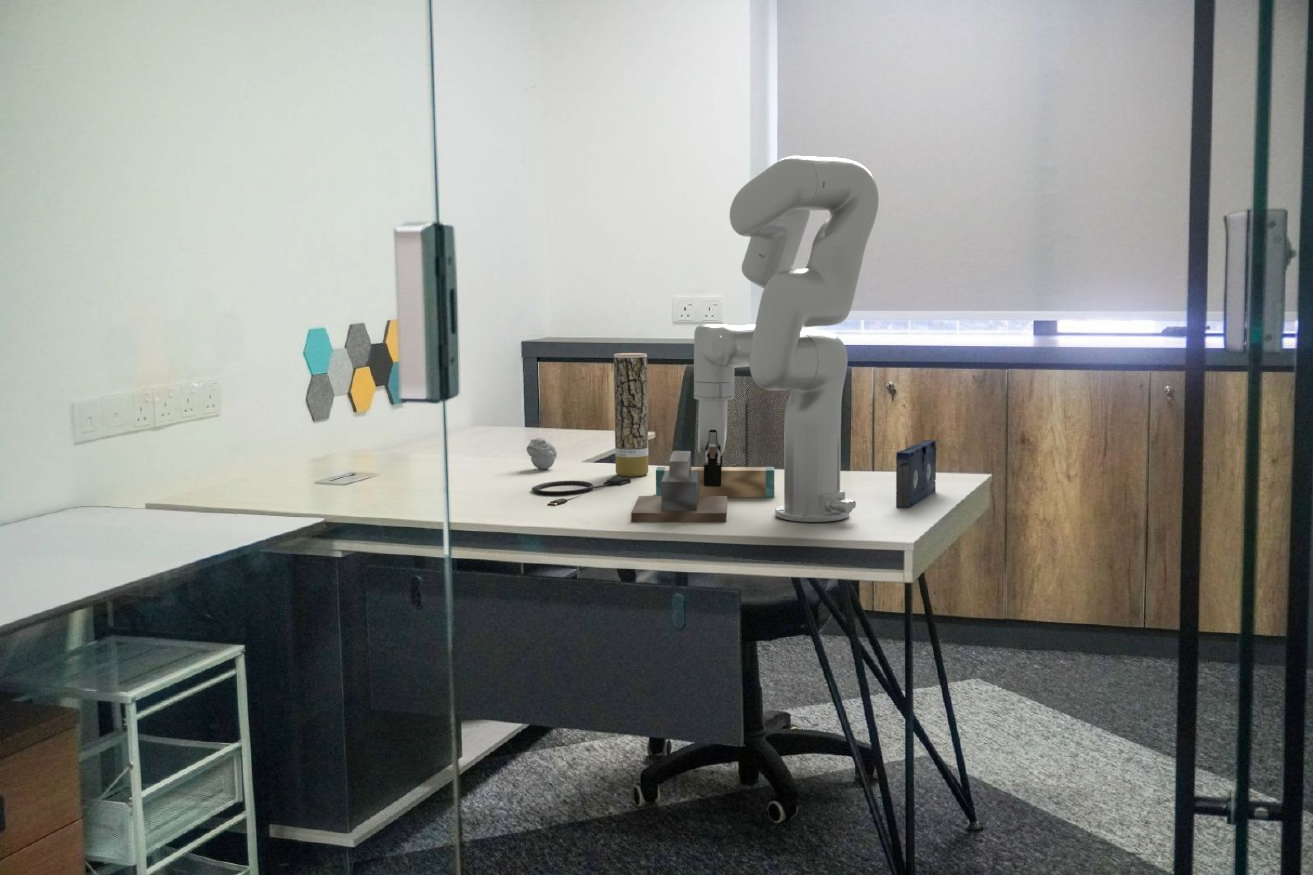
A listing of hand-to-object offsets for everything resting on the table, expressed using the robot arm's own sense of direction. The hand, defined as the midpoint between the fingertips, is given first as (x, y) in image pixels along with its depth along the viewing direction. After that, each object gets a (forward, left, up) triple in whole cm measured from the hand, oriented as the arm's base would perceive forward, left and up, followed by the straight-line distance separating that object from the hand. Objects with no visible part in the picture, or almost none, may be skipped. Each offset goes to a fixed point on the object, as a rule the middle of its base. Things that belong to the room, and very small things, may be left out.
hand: (713, 481), depth 238 cm
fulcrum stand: (-9, +16, -3) cm, 18 cm away
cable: (+23, +17, -3) cm, 29 cm away
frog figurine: (+47, +5, -3) cm, 48 cm away
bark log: (+28, -4, -3) cm, 29 cm away
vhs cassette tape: (-29, -23, -3) cm, 38 cm away
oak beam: (-1, 0, -3) cm, 3 cm away
